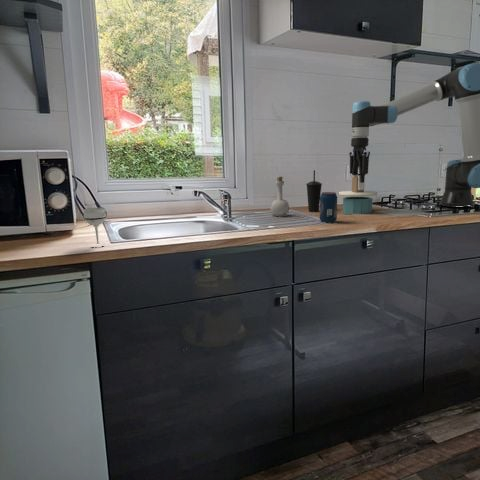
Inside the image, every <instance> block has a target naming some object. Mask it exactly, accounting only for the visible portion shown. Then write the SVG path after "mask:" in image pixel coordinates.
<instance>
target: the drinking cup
mask: <svg viewBox="0 0 480 480" xmlns="http://www.w3.org/2000/svg"><path fill="white" fill-rule="evenodd" d="M305 185H306V191H307V193H306V194H307V209H308V212H309V213H320V196H321V194H322V186H323V183H321V182H319V181H318V180H317V181H316V170H313V180H312V181H309V182H307V183H306V184H305Z"/></svg>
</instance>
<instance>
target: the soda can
mask: <svg viewBox="0 0 480 480" xmlns="http://www.w3.org/2000/svg"><path fill="white" fill-rule="evenodd" d="M337 219H338V196H337V192H334V191H333V192H332V191H331V192H330V191H323V192H322V191H321V194H320V203H319V220H320V222H321V223H323V222H333V223H336V221H337Z"/></svg>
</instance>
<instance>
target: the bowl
mask: <svg viewBox="0 0 480 480" xmlns="http://www.w3.org/2000/svg"><path fill="white" fill-rule="evenodd" d="M372 212H373V197H371V196H365V197H351V196H343V198H342V214H344V215H352V216H353V214H354V215H364V214H365V215H366V214H371V213H372Z"/></svg>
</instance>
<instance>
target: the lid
mask: <svg viewBox="0 0 480 480" xmlns="http://www.w3.org/2000/svg"><path fill="white" fill-rule="evenodd" d="M365 179H366V177H365V178H364V181H365ZM338 195H339V196H342V197H375V196H377V195H378V192H377V191H373V190H365V189H364V190H358V177H353V176H352V177H351V190H342V191H339V192H338Z"/></svg>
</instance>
